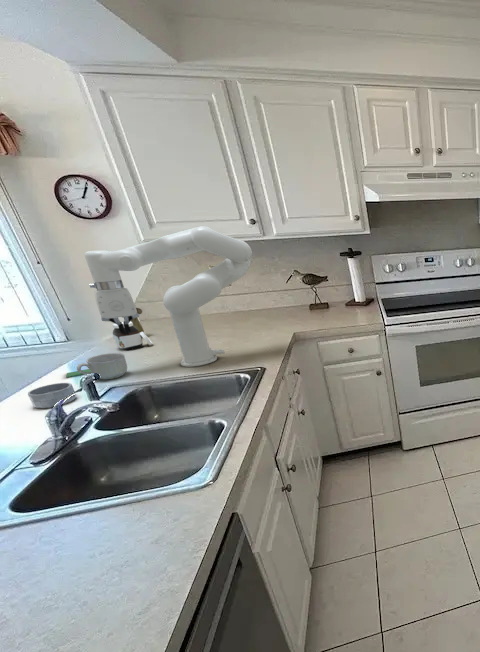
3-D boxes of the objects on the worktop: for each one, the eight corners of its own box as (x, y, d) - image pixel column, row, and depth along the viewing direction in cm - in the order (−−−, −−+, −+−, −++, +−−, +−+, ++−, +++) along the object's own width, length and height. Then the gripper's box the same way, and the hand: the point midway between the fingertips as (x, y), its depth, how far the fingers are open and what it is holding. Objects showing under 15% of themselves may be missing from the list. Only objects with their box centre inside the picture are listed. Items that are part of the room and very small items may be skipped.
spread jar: (115, 349, 188) (105, 324, 184) (142, 342, 198) (134, 318, 194) (131, 352, 184) (122, 327, 180) (158, 344, 194) (150, 320, 190)
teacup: (127, 369, 164) (120, 350, 161) (134, 375, 158) (126, 356, 155) (80, 379, 155) (71, 360, 151) (85, 387, 148) (76, 366, 145)
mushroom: (152, 337, 205) (142, 307, 200) (130, 341, 200) (119, 310, 194) (148, 333, 211) (139, 305, 206) (127, 337, 205) (116, 307, 200)
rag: (91, 369, 164) (91, 368, 164) (91, 373, 161) (91, 371, 160) (67, 374, 160) (66, 373, 159) (66, 378, 156) (66, 376, 156)
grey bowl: (77, 393, 143) (71, 380, 141) (76, 402, 136) (70, 389, 134) (36, 402, 137) (29, 388, 135) (33, 412, 130) (26, 398, 128)
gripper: (81, 289, 142) (100, 340, 149) (136, 284, 152) (152, 332, 159) (81, 286, 148) (100, 335, 154) (135, 282, 157) (150, 328, 164)
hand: (126, 334), depth 157 cm, fingers closed
